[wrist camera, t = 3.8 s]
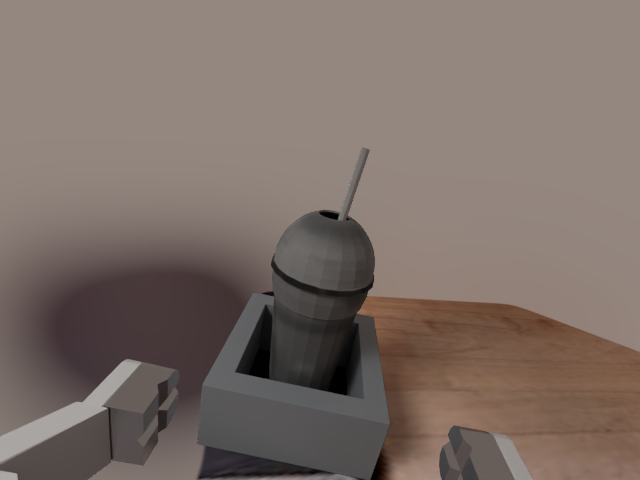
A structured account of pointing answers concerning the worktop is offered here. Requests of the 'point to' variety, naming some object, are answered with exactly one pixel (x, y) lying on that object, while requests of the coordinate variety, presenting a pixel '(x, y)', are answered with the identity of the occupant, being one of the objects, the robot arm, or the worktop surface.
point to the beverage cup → (318, 291)
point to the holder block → (296, 402)
